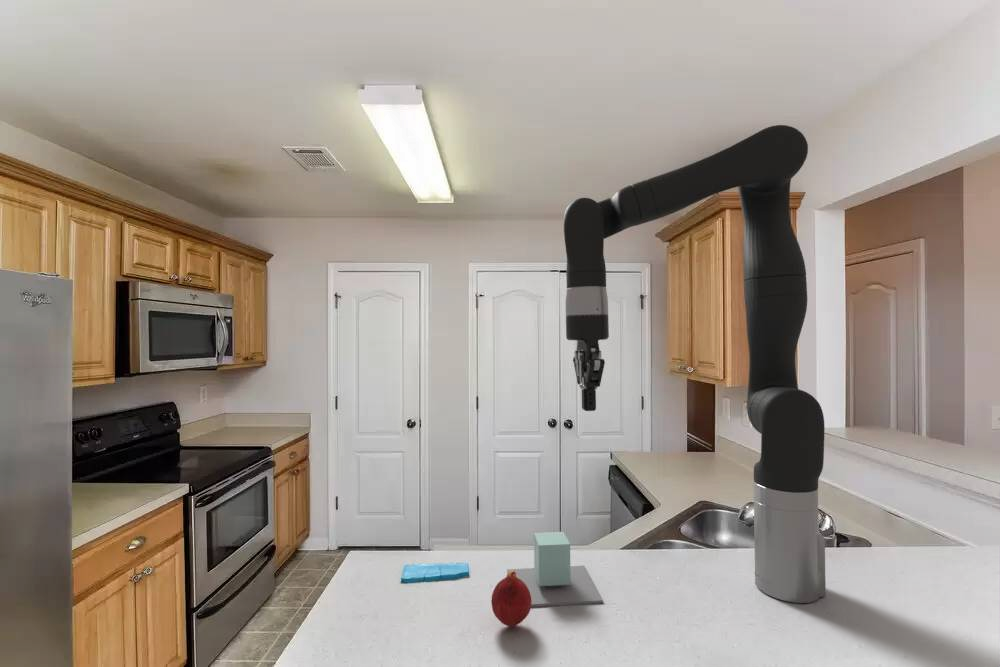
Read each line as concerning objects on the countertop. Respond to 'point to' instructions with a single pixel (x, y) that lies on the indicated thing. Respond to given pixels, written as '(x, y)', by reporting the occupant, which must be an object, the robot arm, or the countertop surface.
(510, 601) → the onion
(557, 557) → the mint green square prism
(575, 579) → the mat
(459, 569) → the sponge
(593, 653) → the countertop surface
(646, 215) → the robot arm
